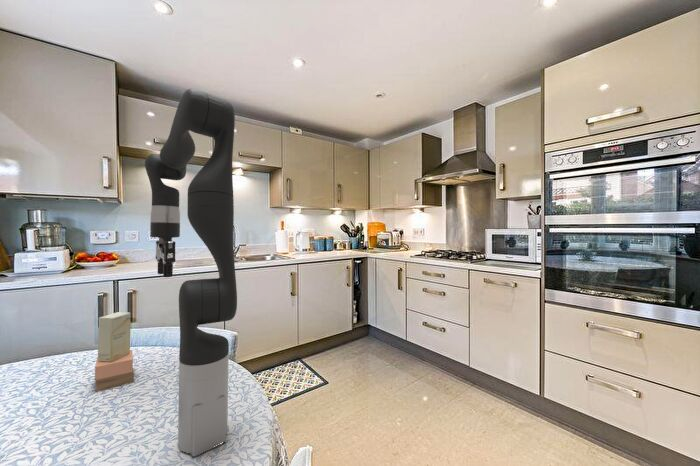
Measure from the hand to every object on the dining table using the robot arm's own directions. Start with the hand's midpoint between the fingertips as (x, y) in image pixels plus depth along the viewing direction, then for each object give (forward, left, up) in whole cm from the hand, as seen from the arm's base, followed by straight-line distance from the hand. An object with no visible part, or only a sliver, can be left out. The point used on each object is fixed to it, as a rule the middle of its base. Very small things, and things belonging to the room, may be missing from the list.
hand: (164, 275), depth 87 cm
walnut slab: (+4, +11, -30) cm, 32 cm away
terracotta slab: (+3, +11, -27) cm, 29 cm away
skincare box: (+4, +11, -23) cm, 26 cm away
